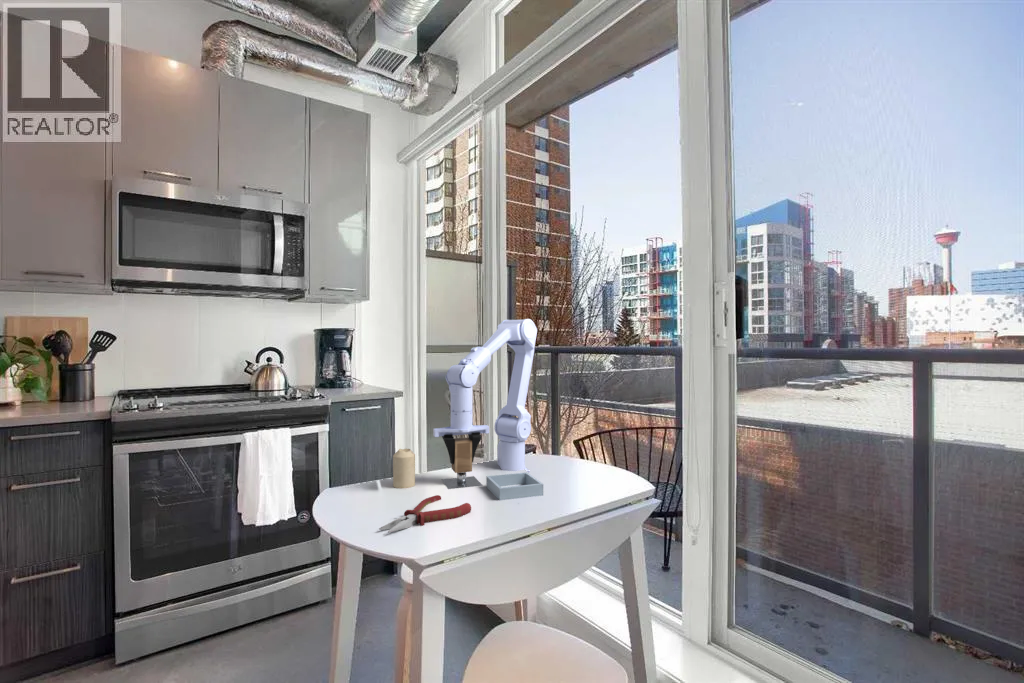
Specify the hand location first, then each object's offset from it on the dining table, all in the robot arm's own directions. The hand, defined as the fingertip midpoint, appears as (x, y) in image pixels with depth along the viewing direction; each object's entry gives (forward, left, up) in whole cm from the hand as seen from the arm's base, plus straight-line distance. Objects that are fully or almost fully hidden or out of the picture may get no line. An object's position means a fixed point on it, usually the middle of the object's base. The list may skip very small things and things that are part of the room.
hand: (461, 462), depth 130 cm
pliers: (+19, -14, -7) cm, 24 cm away
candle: (-2, -15, -6) cm, 16 cm away
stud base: (0, 0, -6) cm, 6 cm away
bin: (+12, +10, -6) cm, 17 cm away
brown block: (0, 0, -2) cm, 2 cm away
